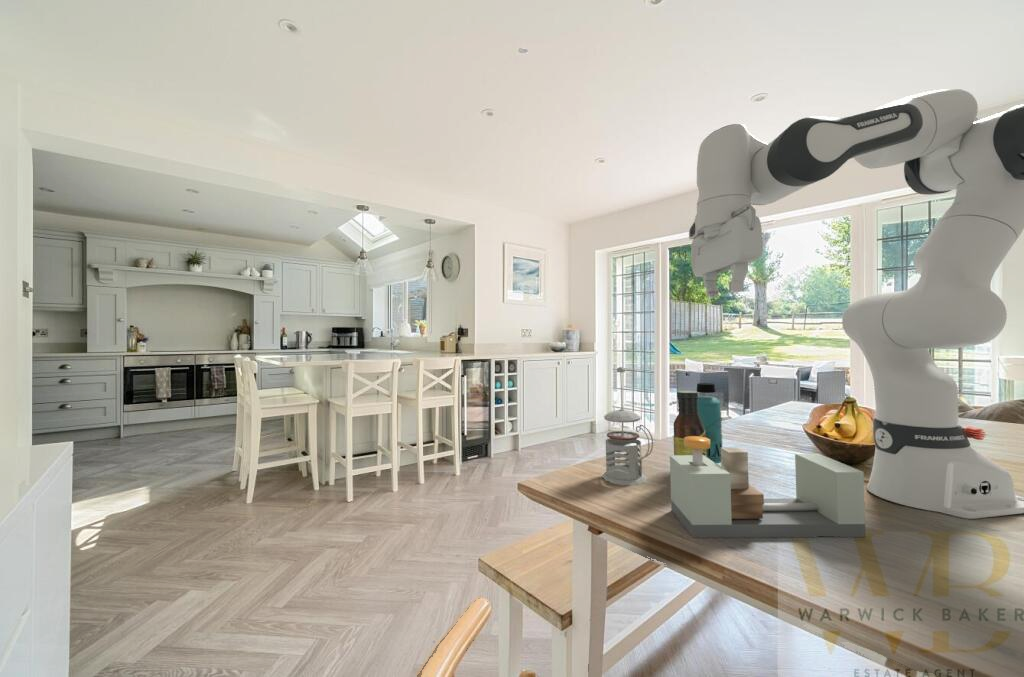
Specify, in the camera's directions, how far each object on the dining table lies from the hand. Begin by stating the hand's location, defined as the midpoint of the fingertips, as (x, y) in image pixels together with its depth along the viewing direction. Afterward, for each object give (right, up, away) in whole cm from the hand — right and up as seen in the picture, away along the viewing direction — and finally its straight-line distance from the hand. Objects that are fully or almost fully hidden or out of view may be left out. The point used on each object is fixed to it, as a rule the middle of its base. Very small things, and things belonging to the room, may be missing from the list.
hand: (723, 294), depth 74 cm
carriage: (-1, -37, -6) cm, 37 cm away
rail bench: (+3, -39, -6) cm, 39 cm away
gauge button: (-7, -31, -6) cm, 32 cm away
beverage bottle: (+9, -39, +24) cm, 46 cm away
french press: (-13, -40, +17) cm, 45 cm away
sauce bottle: (-1, -39, +11) cm, 41 cm away
